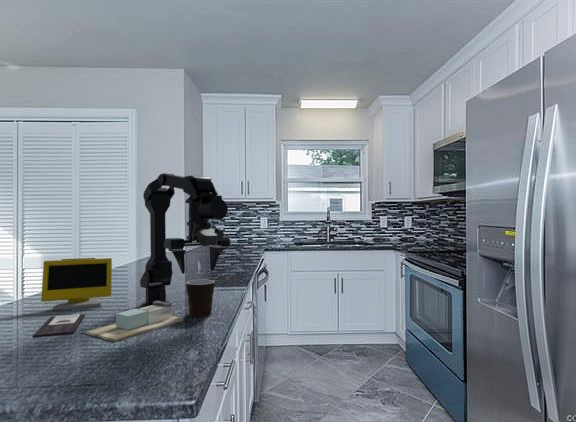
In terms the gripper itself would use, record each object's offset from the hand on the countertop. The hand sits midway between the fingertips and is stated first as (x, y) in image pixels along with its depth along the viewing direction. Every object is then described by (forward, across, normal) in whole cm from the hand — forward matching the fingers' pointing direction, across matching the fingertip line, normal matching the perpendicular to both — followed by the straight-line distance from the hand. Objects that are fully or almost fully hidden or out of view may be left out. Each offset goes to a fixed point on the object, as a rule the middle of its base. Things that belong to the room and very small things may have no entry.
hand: (198, 272), depth 111 cm
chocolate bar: (+15, -32, +17) cm, 39 cm away
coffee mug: (+14, +4, +5) cm, 16 cm away
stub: (+14, -18, +3) cm, 23 cm away
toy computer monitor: (+14, -24, +39) cm, 48 cm away
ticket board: (+14, -16, +3) cm, 22 cm away
